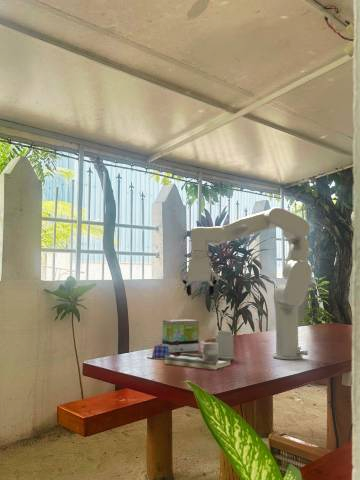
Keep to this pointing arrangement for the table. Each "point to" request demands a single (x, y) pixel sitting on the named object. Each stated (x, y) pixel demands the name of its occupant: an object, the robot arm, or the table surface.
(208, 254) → the robot arm
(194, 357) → the grey tray
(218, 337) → the can
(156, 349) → the blue plaid cloth
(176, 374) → the table surface
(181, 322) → the tea box
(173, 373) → the table surface
